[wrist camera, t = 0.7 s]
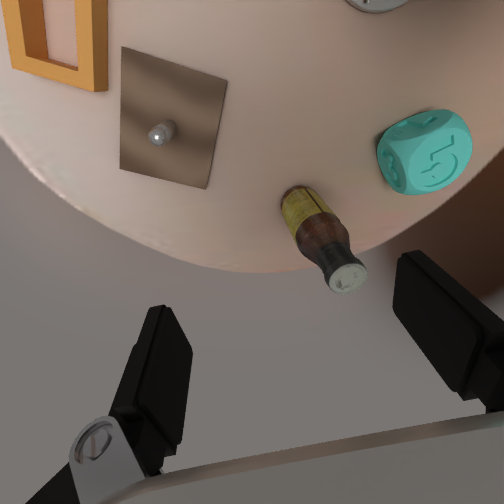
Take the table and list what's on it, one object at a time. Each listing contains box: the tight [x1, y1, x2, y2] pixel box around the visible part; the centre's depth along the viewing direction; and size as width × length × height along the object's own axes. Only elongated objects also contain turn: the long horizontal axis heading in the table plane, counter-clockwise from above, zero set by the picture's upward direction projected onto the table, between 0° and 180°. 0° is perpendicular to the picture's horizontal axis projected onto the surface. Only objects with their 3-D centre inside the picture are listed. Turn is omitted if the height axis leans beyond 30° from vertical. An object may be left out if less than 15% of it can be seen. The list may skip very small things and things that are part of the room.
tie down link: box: [1, 0, 108, 92], centre depth 27 cm, size 12×8×4 cm, turn 164°
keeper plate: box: [120, 47, 227, 190], centre depth 32 cm, size 14×12×9 cm
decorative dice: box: [377, 109, 472, 195], centre depth 36 cm, size 8×8×8 cm
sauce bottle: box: [281, 186, 368, 294], centre depth 35 cm, size 7×6×20 cm
